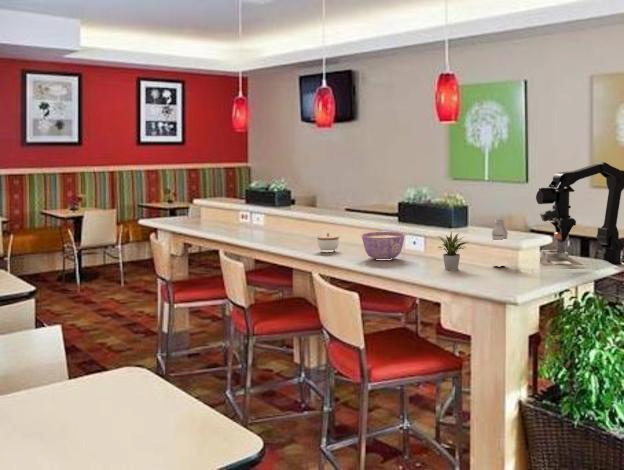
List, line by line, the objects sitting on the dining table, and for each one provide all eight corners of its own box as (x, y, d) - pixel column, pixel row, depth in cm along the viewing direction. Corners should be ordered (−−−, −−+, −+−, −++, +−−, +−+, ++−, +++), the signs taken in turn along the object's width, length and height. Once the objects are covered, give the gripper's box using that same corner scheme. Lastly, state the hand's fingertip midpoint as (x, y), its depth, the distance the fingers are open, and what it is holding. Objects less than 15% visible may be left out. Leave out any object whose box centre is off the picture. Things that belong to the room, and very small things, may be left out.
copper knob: (552, 251, 294) (552, 231, 293) (565, 251, 294) (566, 230, 293) (556, 253, 289) (556, 233, 288) (569, 253, 289) (570, 232, 287)
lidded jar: (329, 249, 356) (328, 231, 355) (343, 251, 348) (343, 233, 347) (313, 252, 349) (312, 233, 348) (327, 254, 341) (327, 235, 340)
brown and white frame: (569, 260, 306) (570, 249, 305) (583, 268, 288) (583, 256, 287) (532, 261, 307) (532, 250, 306) (543, 268, 289) (543, 257, 288)
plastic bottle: (495, 265, 300) (495, 219, 298) (509, 266, 296) (510, 219, 293) (488, 267, 296) (488, 220, 293) (503, 269, 291) (504, 221, 289)
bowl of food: (404, 263, 311) (404, 237, 310) (359, 263, 314) (359, 237, 313) (405, 255, 331) (405, 231, 329) (363, 255, 334) (363, 231, 332)
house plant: (441, 273, 285) (441, 234, 283) (426, 268, 298) (426, 230, 296) (472, 271, 289) (472, 232, 287) (457, 265, 302) (457, 228, 300)
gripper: (536, 201, 298) (535, 237, 301) (548, 205, 280) (547, 244, 282) (562, 200, 298) (562, 236, 300) (576, 205, 279) (575, 243, 281)
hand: (561, 240), depth 291 cm, fingers closed on copper knob, 6 cm apart
